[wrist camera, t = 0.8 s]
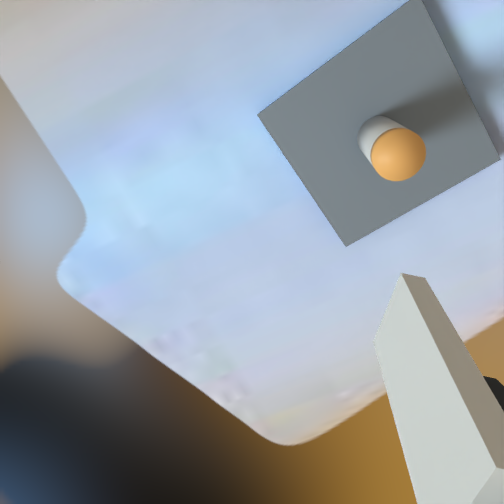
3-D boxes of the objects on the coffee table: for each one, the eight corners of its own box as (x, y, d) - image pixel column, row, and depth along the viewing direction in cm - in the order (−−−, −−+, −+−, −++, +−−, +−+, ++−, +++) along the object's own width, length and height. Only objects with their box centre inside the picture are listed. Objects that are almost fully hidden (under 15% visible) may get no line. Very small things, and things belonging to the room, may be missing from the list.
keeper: (258, 113, 34) (244, 127, 25) (414, -4, 29) (458, -33, 21) (344, 242, 37) (356, 290, 29) (495, 156, 33) (558, 185, 25)
